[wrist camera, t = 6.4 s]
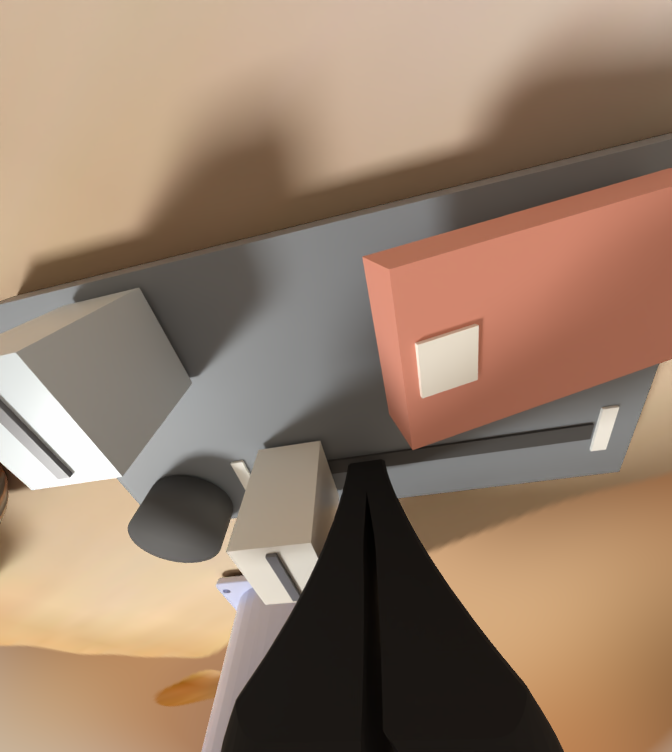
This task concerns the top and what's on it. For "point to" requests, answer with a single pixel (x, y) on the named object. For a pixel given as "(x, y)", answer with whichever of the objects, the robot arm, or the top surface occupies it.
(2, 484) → the vase
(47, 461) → the slotted white box
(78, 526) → the top surface
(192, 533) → the button
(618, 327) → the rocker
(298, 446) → the slotted cream block
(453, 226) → the console
